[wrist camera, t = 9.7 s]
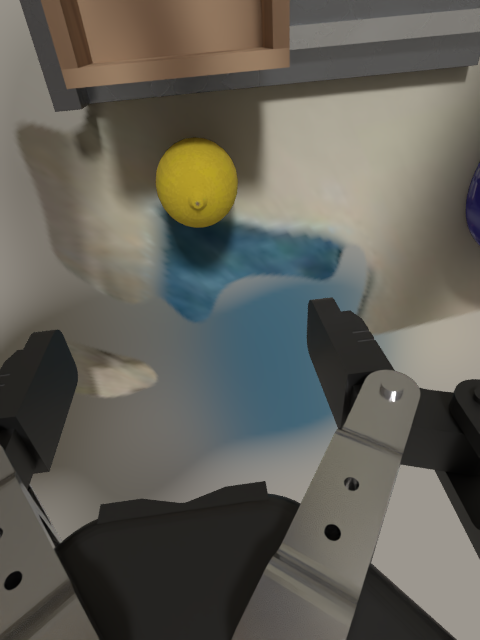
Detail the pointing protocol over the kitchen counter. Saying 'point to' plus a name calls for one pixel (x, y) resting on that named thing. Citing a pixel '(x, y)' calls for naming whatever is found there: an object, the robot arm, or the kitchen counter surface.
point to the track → (306, 48)
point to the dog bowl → (474, 206)
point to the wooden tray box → (165, 38)
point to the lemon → (196, 182)
